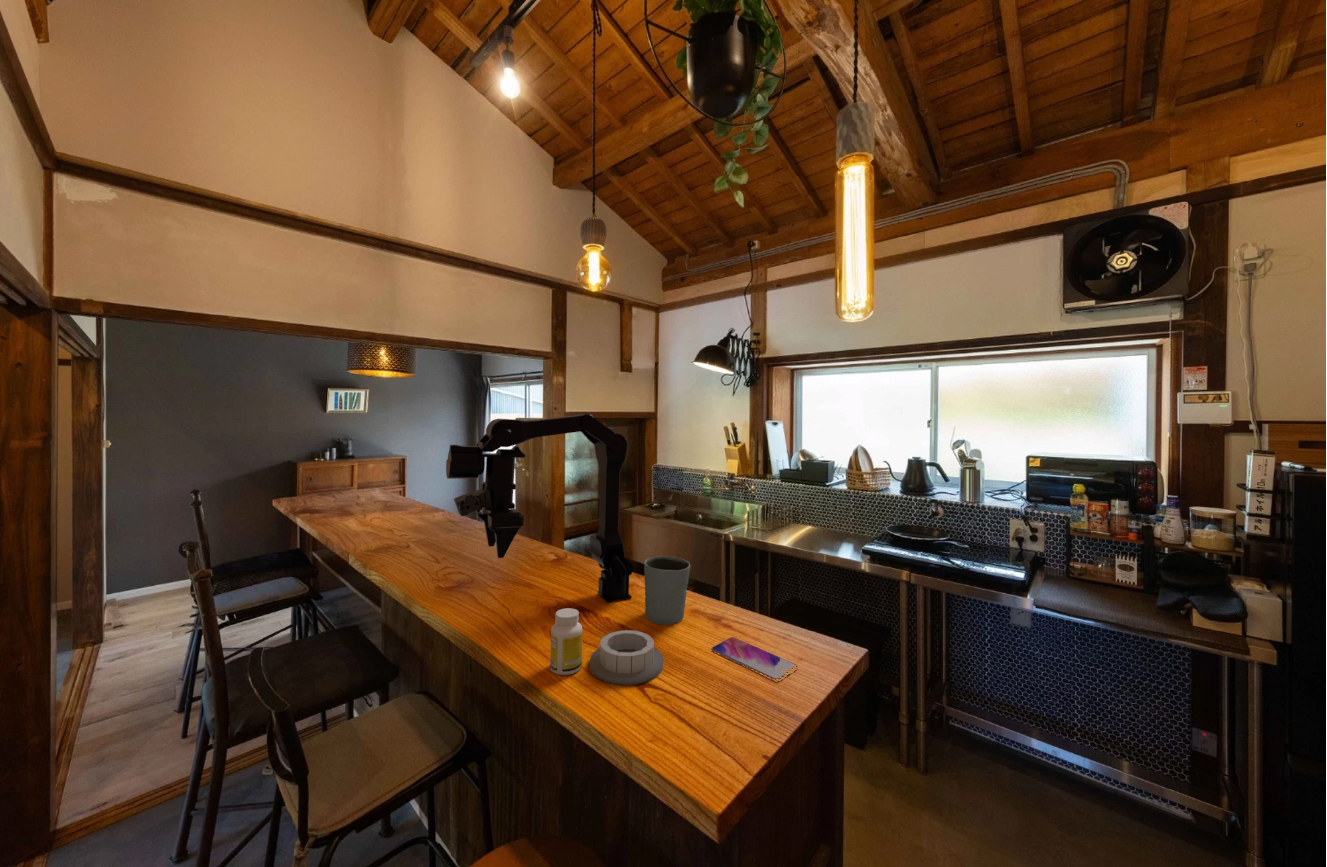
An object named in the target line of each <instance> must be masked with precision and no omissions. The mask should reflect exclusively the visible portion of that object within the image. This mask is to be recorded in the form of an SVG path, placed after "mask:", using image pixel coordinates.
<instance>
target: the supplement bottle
mask: <svg viewBox="0 0 1327 867" xmlns="http://www.w3.org/2000/svg"><path fill="white" fill-rule="evenodd" d="M579 614H580V612H579V610H578V609H575V608H569V607H567V608H561V609H558V610H557V611H556V612H555V614H554V616H555V621H554V622H555V623H554V624H553V625H552V627H551V629H550V664H549V667H550V671H551V672H552V673H554V674H555V675H560V676H569V675H572V674H575V673H577V672H578V671H580V670H581V668H582V663H583V626H582V623H580V622H579V619H580V615H579Z"/></svg>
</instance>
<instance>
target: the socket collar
mask: <svg viewBox="0 0 1327 867" xmlns="http://www.w3.org/2000/svg"><path fill="white" fill-rule="evenodd" d="M663 668H664V657H663V655H662V653H661V652H660V650H658V649H657V648H655V640H654V638H652V637H651V636H650V635H649V634H648V633H644V632H642V631H638V630H631V629H629V630H628V629H625V630H618V631H612V632H610V633H607V635H605V636H603V637H602V638H601V640H600V643H599V648H597V649H596V650H594V652H592V654H591V655H590V658H589V670H590V671H591V674H592V675H593V676H594V677H595V678H597V679H598V680H600V681H603V682H605V683H606V684H611V685H617V686H635V685H636V686H637V685H640V684H645V683H647V681H648V682H650V681H651V680H654V679H655V678H656V677H658V676H659V675H660V674H661V673H662V672H663Z"/></svg>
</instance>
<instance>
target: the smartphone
mask: <svg viewBox="0 0 1327 867" xmlns="http://www.w3.org/2000/svg"><path fill="white" fill-rule="evenodd" d="M710 650H712V651H714V652H716V653H719V654H720V655H722V656H723V658H724V657H727V658H728V659H730V660H729V661H731V660H732V661H731V662H733V661H735V662H736V663H735V662H734V663H735V664H737V663H739V664H741V665H744V666H745V667H748V668H750V669H753V670H754V671H757V672H758V673H762V674H763V675H766V676H767V677H770V678H771V679H775V680H776V679H781V678H780V677H784V676H783V675H785V674H784V673H788V672H784V671H790V670H787V669H793V668H791V667H795V666H793V665H797V664H796V663H794V662H792V661H789V660H788V659H785V658H782V657H780V656H778V655H775V654H773V653H771V652H769V651H767V650H764V649H762V648H760V647H757V646H756V645H753V644H750V643H749V642H747V641H743V640H741V639H739V638H737V637H734V636H731V637H729V638H727V639H725V640H723V641H721V642H719V643H717V644H716V645H714V646H712V647H711V648H710ZM712 651H711V652H712ZM714 652H713V653H714ZM716 653H715V654H716ZM720 655H719V656H720ZM722 656H721V657H722ZM728 659H727V660H728ZM739 664H738V665H739ZM741 665H740V666H741ZM791 665H792V666H791ZM797 666H798V665H797ZM797 666H796V667H797ZM745 667H744V668H745ZM789 667H790V668H789ZM785 669H786V670H785ZM782 671H783V672H782ZM758 673H757V674H758ZM781 673H782V674H781ZM780 675H781V676H780Z"/></svg>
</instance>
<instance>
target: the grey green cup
mask: <svg viewBox="0 0 1327 867" xmlns="http://www.w3.org/2000/svg"><path fill="white" fill-rule="evenodd" d="M643 569H644V570H643V571H644V596H645V597H644V603H645V604H644V616H645V618H647V619H646V620H647V621H649V622H651V623H653V624H656V625H665V626H667V625H668V626H669V625H674V624H678V623H680V622H681V621H683V619H684V617H685V616H684V615H685V608H686V601H687V600H686V598H687V593H688V591H687V589H688V584H689V576H690V570H691V564H690V562H689V561H687V560H686V559H683V558H680V557H675V556H667V555H666V556H665V555H664V556H653V557H650V558H647V559H645V560H644V562H643Z"/></svg>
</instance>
